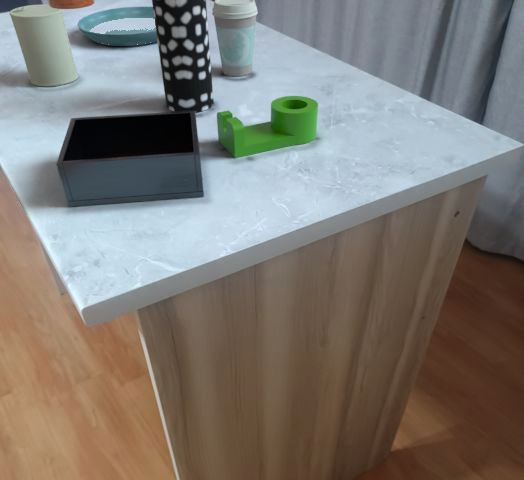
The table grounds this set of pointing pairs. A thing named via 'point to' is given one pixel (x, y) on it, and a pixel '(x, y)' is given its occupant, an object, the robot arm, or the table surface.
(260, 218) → the table surface
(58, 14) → the can
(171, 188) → the dark grey storage bin
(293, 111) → the tape dispenser
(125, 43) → the teal plate
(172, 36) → the white-spotted black cylinder
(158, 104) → the table surface
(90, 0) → the cup
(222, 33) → the coffee cup
